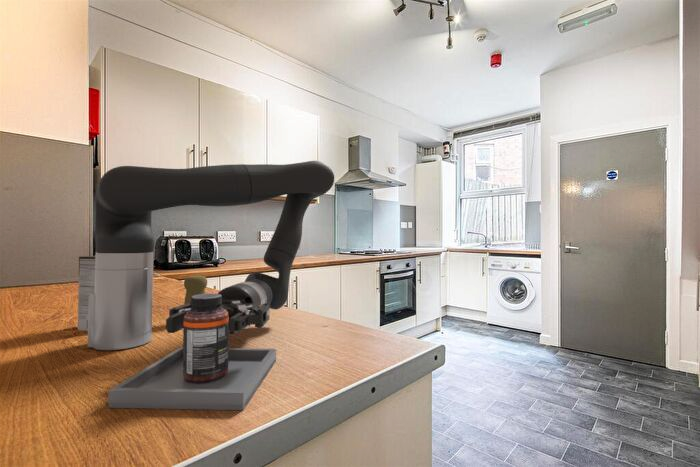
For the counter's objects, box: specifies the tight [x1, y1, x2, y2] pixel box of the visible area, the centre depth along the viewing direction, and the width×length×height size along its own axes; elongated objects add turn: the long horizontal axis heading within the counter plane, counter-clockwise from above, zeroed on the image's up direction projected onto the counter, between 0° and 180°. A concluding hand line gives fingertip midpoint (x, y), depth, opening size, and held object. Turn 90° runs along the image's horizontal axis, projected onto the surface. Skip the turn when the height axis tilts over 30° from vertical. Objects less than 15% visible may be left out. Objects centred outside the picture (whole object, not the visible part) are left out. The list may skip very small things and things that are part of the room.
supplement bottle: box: [182, 293, 230, 383], centre depth 48 cm, size 6×6×11 cm
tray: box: [107, 346, 277, 411], centre depth 47 cm, size 16×16×2 cm
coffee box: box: [77, 255, 95, 332], centre depth 76 cm, size 9×6×16 cm
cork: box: [183, 274, 208, 305], centre depth 82 cm, size 6×6×11 cm
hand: (200, 326), depth 46 cm, fingers open, 8 cm apart
